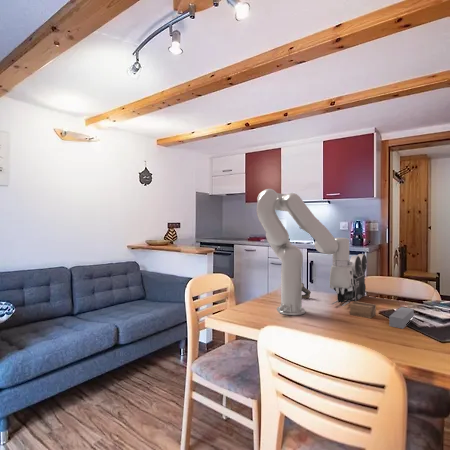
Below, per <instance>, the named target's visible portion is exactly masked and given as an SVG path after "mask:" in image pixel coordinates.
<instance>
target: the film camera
mask: <svg viewBox="0 0 450 450" xmlns="http://www.w3.org/2000/svg"><path fill="white" fill-rule="evenodd" d="M367 259H368V258H367V255H366V254H365V253H359V254H357V255H352V256H351V257H349V260H350V262H352V265H350V266H349V267H351V268H352V273H353V287H352V288H353V290H352V291H347V292H346V293H345V301H344V302H343V304H341V306H342V307H344V306H346V305H347V304H351V302H355V301H359V300H361V298H363V297H364V296H366V274H365V273H366V271H367V266H368V260H367ZM341 291H342V288H341ZM336 303H339V302H338V299H336V301H333V302H332V303H331V305H332V306H333V305H336Z"/></svg>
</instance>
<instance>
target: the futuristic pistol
mask: <svg viewBox="0 0 450 450" xmlns="http://www.w3.org/2000/svg"><path fill="white" fill-rule="evenodd" d="M302 293H304V294H302V298H305V299H310V297H311V291H310V290H309V289H308V288H307V287H305V283H304V282H302Z"/></svg>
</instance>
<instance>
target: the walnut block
mask: <svg viewBox="0 0 450 450" xmlns="http://www.w3.org/2000/svg"><path fill="white" fill-rule="evenodd" d="M349 315H351V316H355V317H356V316H357V317H361V318H366V319H372V318H374V317H375V316H376V315H377V303H375V304H374V303H369V302H368V303H367V302H363V301H359V300H357V301H352V303H351V302H350V303H349Z"/></svg>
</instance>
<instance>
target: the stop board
mask: <svg viewBox="0 0 450 450" xmlns="http://www.w3.org/2000/svg"><path fill="white" fill-rule="evenodd" d="M414 312H415V308H409V307H404V306H401V307H399V308H398V309H396V310H395V311H394V312H393V313H391V315H389V316H388V320H389V322H388V323H389V325H388V326H389V327H393V328H396V329H397V328H399V329H402V330H403V329H405V327H406V326H407V325H408V324H409V323H410V322H409V320H410V319H411V318H412V317H413V316H414V315H415V313H414ZM408 322H409V323H408ZM407 323H408V324H407ZM406 324H407V325H406Z"/></svg>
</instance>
